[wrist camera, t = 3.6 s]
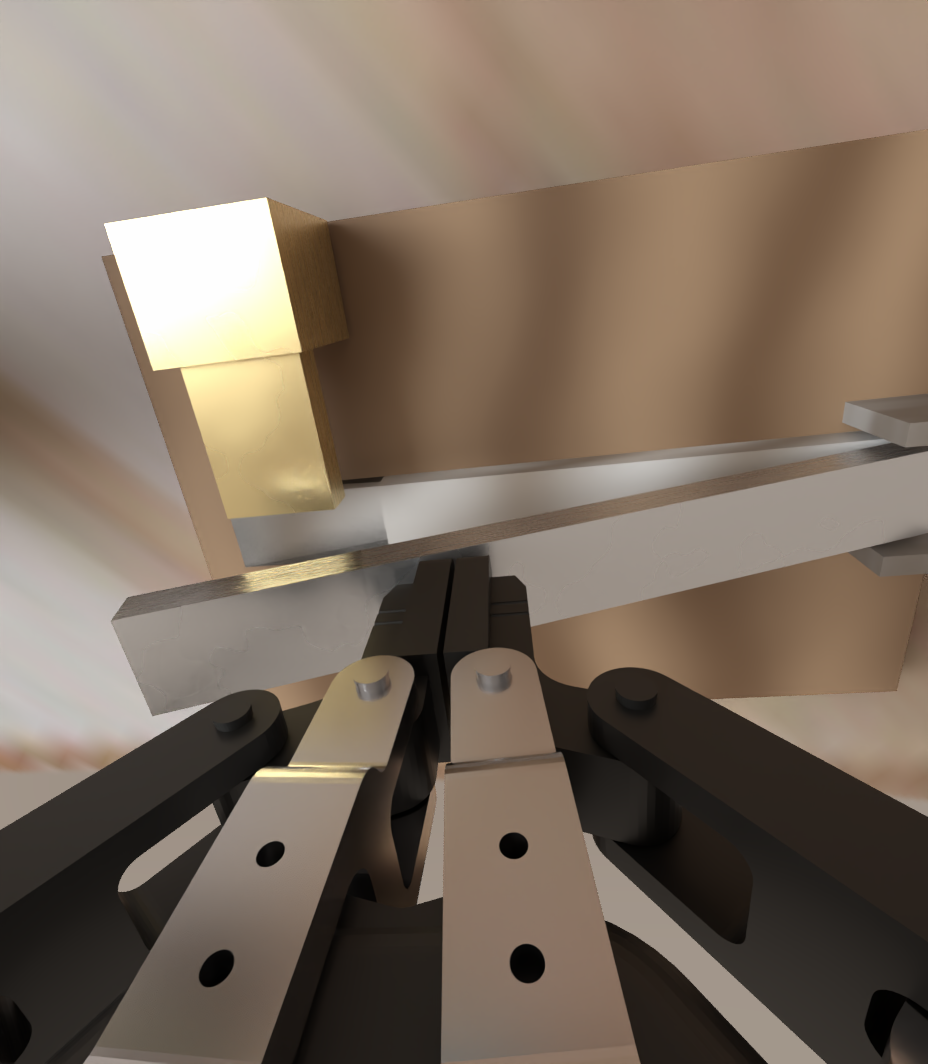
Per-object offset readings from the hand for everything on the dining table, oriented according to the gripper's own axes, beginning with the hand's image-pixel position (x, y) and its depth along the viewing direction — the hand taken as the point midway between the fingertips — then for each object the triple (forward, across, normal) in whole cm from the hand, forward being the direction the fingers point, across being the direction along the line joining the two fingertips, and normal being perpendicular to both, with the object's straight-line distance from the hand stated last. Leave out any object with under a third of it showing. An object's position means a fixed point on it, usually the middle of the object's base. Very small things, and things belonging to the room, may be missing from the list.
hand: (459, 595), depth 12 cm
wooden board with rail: (+8, -2, 0) cm, 8 cm away
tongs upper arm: (+2, -3, 0) cm, 3 cm away
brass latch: (+6, +5, -5) cm, 9 cm away
